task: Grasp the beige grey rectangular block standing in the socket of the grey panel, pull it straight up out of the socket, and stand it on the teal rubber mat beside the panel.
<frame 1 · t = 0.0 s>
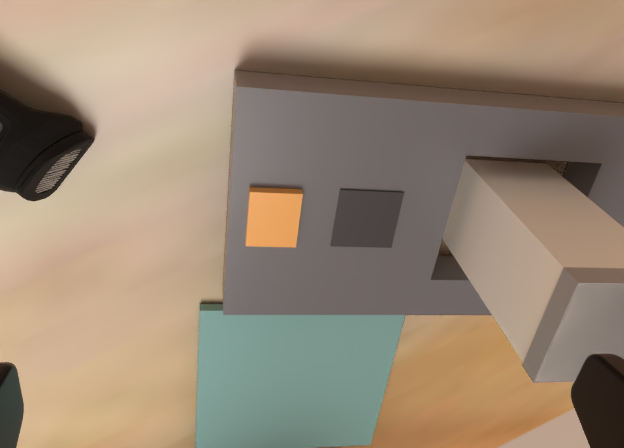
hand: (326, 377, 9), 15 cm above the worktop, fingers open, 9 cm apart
beige grey rectangular block: (492, 201, 25), resting in grey panel
teal mat: (294, 378, 29), on the worktop
grey panel: (431, 198, 25), on the worktop
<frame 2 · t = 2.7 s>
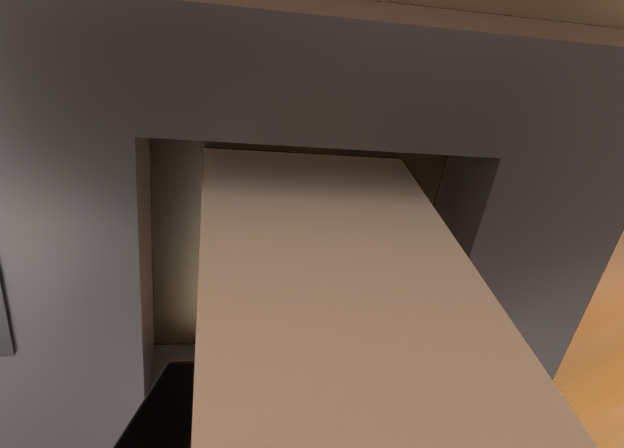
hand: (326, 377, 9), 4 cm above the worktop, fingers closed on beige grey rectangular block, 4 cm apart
beige grey rectangular block: (294, 238, 12), resting in grey panel, touching gripper
grey panel: (151, 236, 11), on the worktop
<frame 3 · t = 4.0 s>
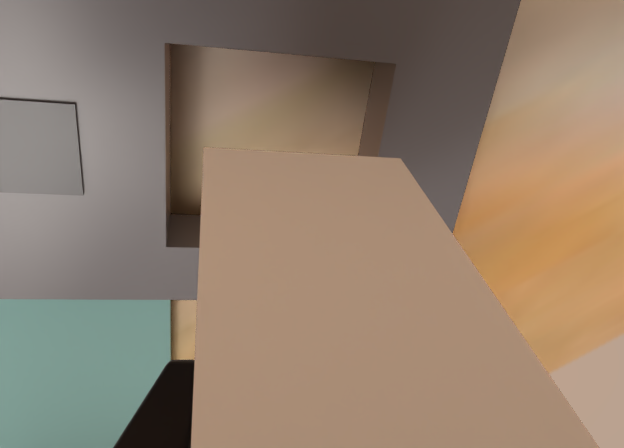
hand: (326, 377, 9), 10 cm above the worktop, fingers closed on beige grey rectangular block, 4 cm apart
beige grey rectangular block: (294, 237, 12), point 6 cm above the worktop, touching gripper
teal mat: (37, 390, 21), on the worktop
grey panel: (170, 128, 17), on the worktop
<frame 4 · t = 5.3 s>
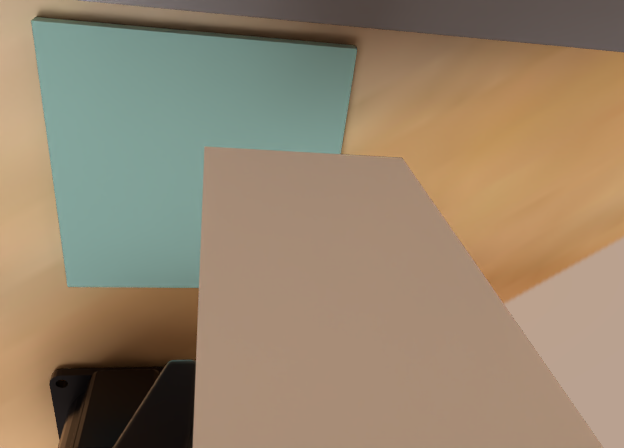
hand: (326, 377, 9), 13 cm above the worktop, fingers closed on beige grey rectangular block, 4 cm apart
beige grey rectangular block: (295, 237, 12), point 9 cm above the worktop, touching gripper
teal mat: (200, 171, 20), on the worktop
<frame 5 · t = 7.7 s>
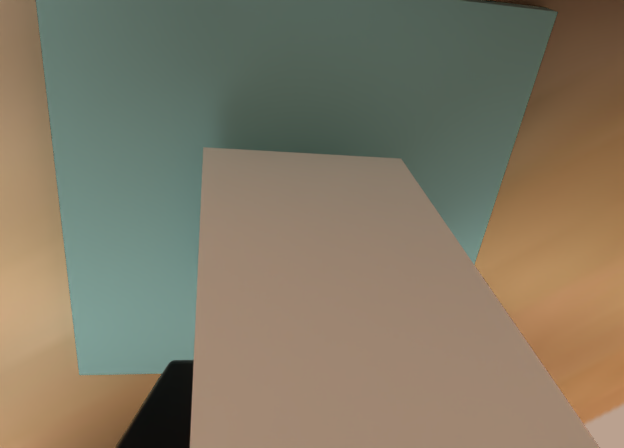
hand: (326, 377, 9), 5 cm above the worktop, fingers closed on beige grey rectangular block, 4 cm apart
beige grey rectangular block: (294, 238, 12), point 1 cm above the worktop, touching gripper
teal mat: (287, 204, 13), on the worktop
when the fingers open (5 cm above the worktop, at t = 7.8 s): beige grey rectangular block stays where it is, resting on teal mat.
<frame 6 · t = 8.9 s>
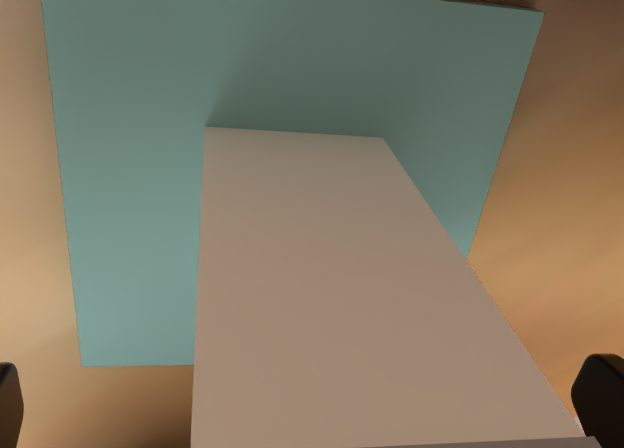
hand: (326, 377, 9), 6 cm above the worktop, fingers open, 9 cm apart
beige grey rectangular block: (287, 211, 13), resting on teal mat
teal mat: (284, 200, 14), on the worktop
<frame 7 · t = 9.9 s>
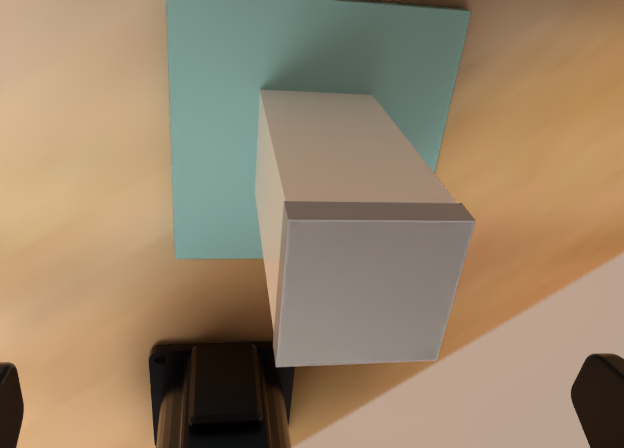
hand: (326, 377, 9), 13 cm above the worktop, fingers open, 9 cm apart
beige grey rectangular block: (311, 145, 20), resting on teal mat
teal mat: (309, 139, 21), on the worktop
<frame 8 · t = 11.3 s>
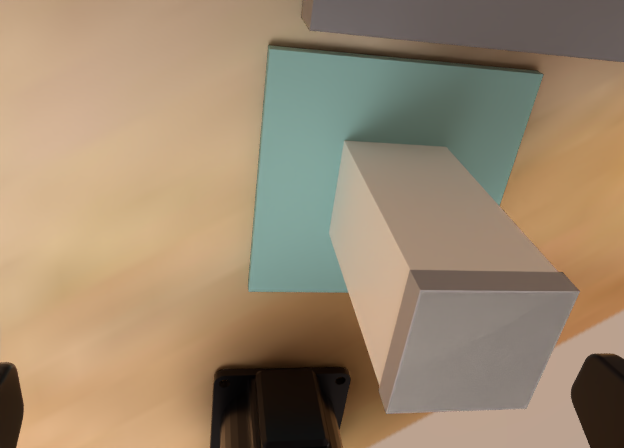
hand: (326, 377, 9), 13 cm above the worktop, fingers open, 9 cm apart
beige grey rectangular block: (385, 191, 22), resting on teal mat
teal mat: (382, 184, 22), on the worktop
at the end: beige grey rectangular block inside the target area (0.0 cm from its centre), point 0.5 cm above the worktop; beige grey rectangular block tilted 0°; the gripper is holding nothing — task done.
